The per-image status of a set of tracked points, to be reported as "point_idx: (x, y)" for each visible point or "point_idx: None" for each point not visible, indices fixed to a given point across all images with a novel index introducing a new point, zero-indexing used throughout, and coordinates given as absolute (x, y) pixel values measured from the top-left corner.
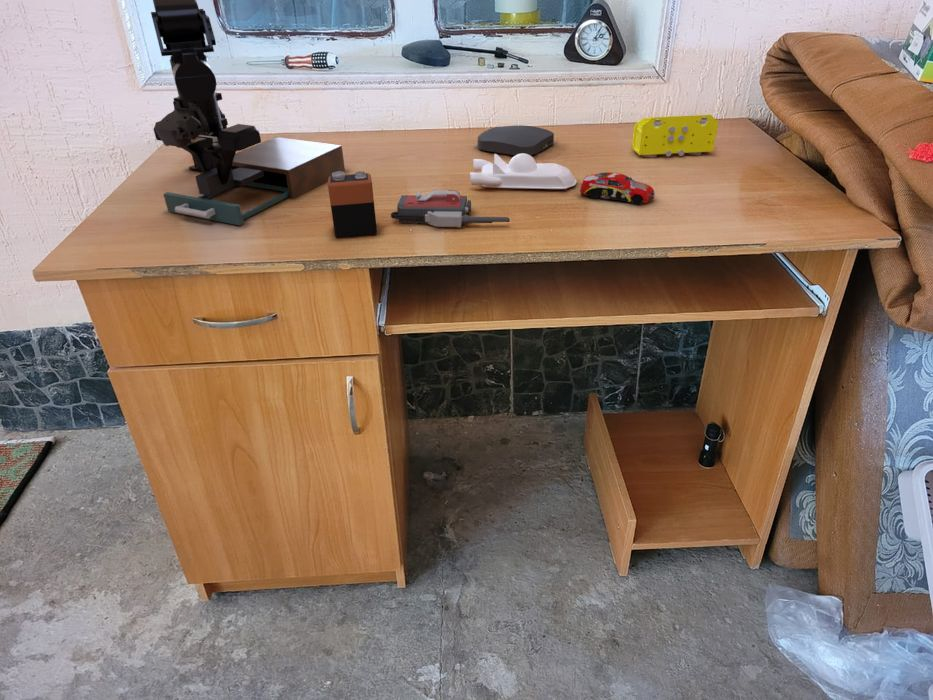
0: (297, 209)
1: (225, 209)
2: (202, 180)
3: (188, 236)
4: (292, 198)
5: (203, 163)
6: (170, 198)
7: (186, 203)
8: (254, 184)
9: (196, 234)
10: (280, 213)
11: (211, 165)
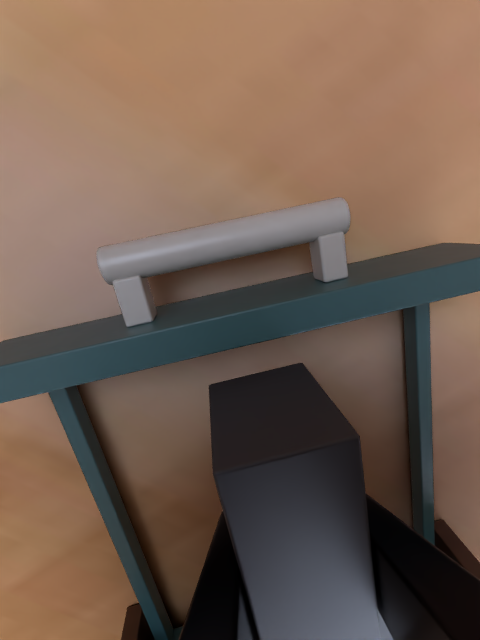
0: (12, 571)
1: (35, 350)
2: (266, 435)
3: (92, 107)
4: (130, 606)
5: (433, 630)
6: (462, 255)
7: (340, 280)
8: None
9: (85, 152)
10: (24, 516)
11: (398, 633)
